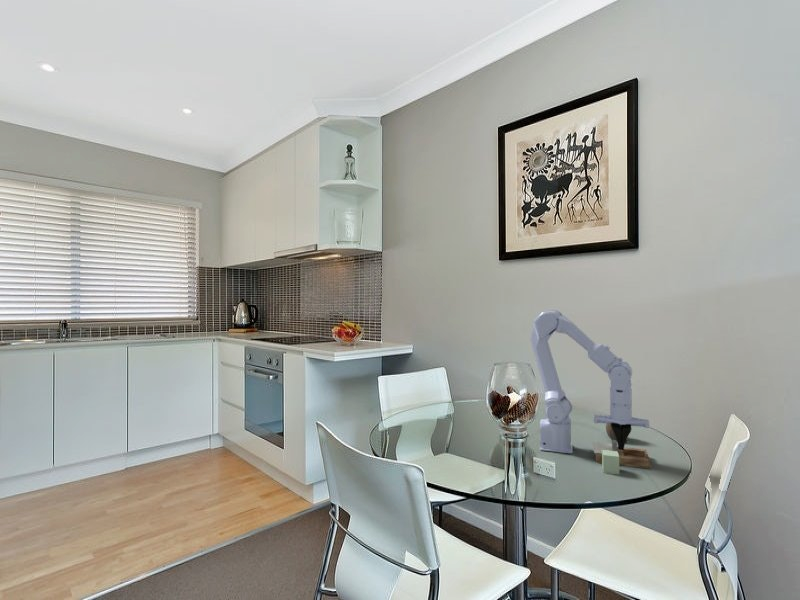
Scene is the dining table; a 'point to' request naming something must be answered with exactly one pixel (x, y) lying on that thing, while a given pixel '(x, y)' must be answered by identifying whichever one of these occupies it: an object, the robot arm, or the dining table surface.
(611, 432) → the vase
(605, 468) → the block
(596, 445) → the cover
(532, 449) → the dining table surface
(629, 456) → the wooden tray
